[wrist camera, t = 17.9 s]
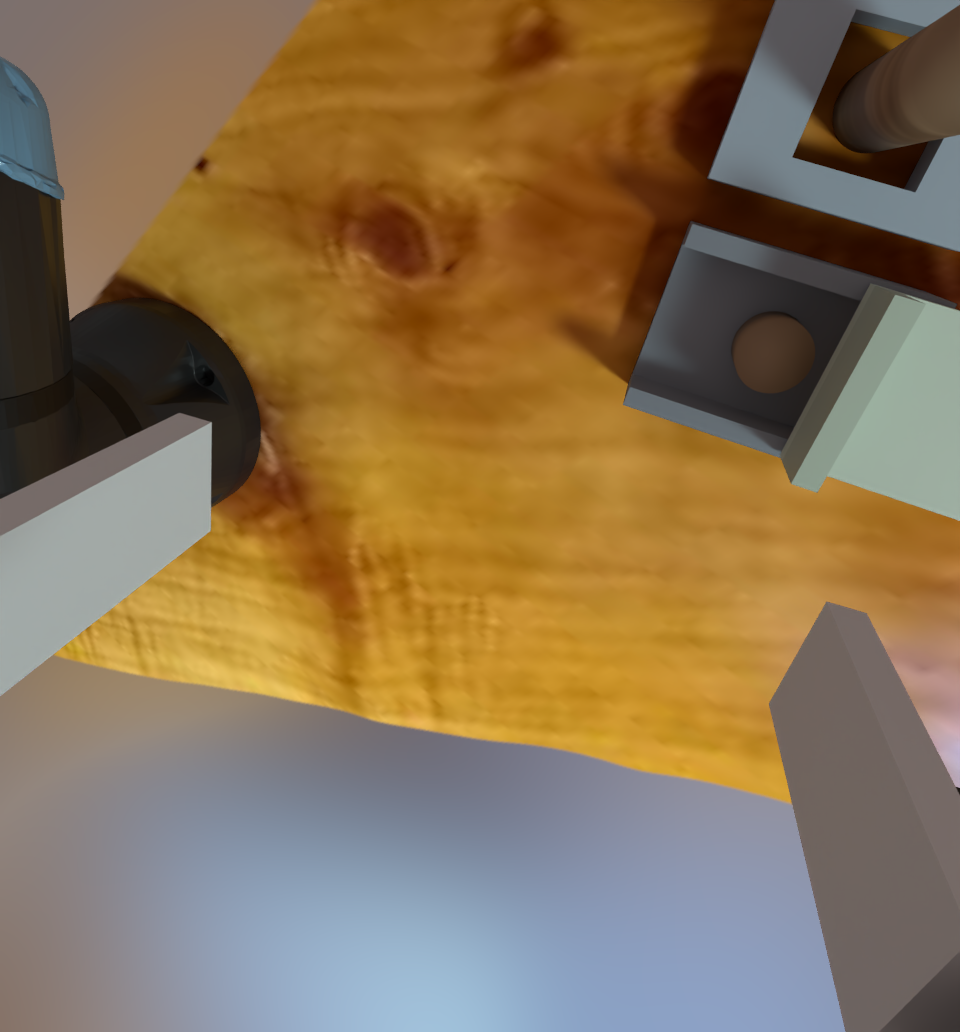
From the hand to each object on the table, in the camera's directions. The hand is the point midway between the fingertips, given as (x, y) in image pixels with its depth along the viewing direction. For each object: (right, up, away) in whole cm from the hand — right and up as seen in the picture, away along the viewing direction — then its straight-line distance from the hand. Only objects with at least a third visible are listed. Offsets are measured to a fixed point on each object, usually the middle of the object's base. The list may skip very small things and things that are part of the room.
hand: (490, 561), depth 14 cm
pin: (+18, +20, +16) cm, 31 cm away
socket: (+18, +20, +16) cm, 31 cm away
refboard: (+15, +10, +22) cm, 28 cm away
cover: (+21, +6, +17) cm, 28 cm away
